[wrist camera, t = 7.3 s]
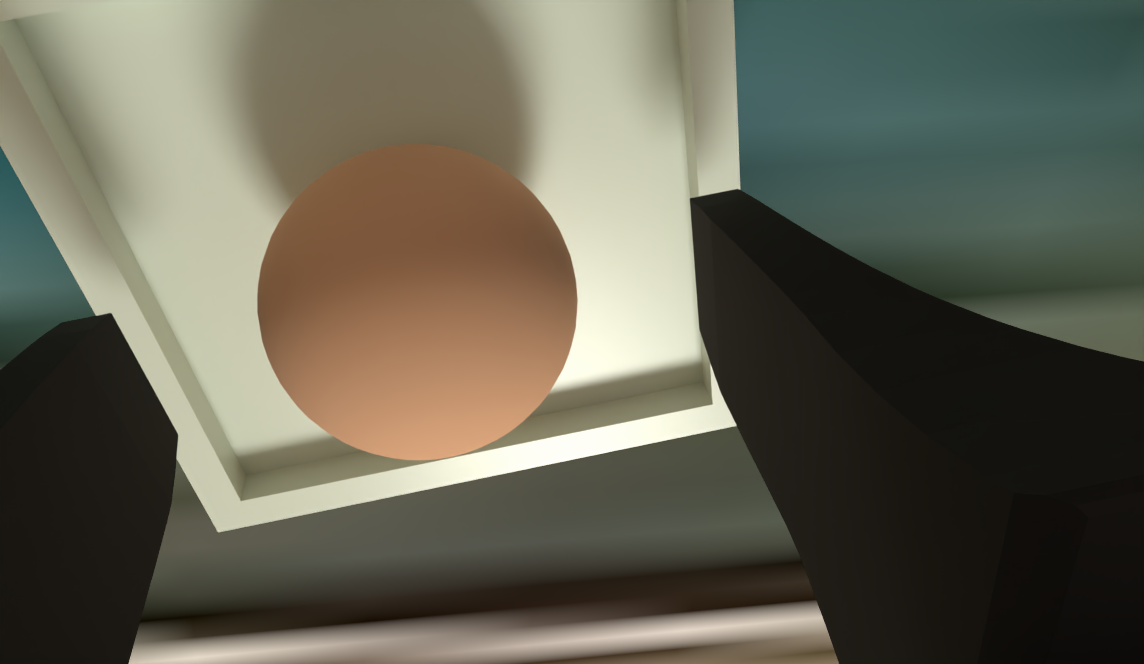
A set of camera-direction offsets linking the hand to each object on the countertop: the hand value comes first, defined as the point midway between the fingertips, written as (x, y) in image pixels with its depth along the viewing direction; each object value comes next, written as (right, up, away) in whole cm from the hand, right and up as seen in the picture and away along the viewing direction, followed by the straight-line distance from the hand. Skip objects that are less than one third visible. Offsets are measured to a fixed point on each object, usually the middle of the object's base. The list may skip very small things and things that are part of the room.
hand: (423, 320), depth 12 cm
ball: (0, +1, +2) cm, 2 cm away
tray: (0, +2, +2) cm, 3 cm away
